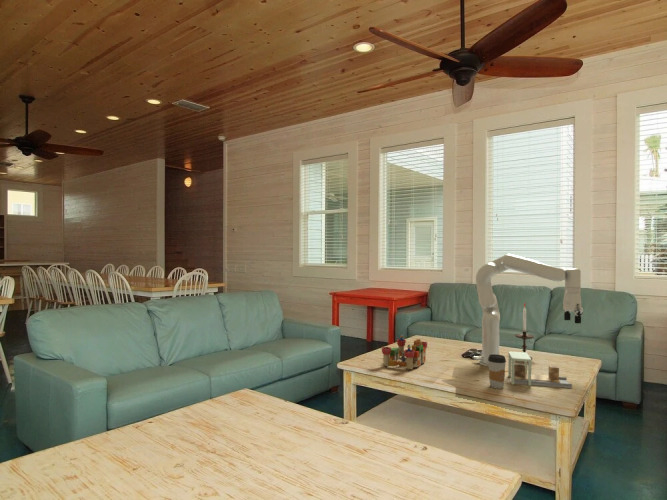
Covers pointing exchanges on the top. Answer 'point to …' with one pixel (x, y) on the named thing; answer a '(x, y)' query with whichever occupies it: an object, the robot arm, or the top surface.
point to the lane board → (546, 383)
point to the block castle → (405, 354)
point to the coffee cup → (496, 370)
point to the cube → (519, 370)
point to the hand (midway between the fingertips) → (572, 321)
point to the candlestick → (524, 332)
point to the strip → (551, 377)
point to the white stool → (519, 357)
